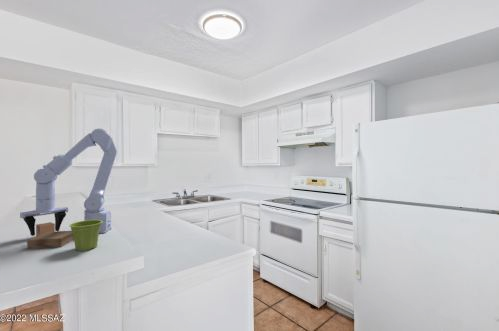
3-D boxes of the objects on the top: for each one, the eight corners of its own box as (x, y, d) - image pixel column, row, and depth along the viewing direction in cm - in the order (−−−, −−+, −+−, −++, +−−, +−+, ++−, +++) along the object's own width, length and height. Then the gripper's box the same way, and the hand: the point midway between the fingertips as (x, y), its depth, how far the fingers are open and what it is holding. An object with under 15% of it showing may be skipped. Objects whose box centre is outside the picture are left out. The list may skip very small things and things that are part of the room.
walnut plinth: (75, 238, 91) (75, 230, 91) (61, 246, 81) (61, 238, 81) (46, 239, 89) (46, 231, 89) (27, 248, 79) (27, 240, 79)
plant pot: (65, 255, 74) (66, 227, 74) (72, 246, 82) (72, 221, 82) (100, 250, 78) (100, 224, 78) (103, 242, 86) (103, 218, 86)
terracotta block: (50, 234, 96) (50, 222, 96) (54, 236, 94) (54, 223, 94) (36, 237, 92) (36, 224, 92) (40, 239, 90) (40, 226, 90)
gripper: (63, 196, 101) (63, 227, 101) (17, 200, 89) (17, 235, 89) (70, 197, 97) (70, 229, 97) (23, 201, 85) (23, 238, 85)
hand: (45, 232), depth 93 cm, fingers open, 7 cm apart
